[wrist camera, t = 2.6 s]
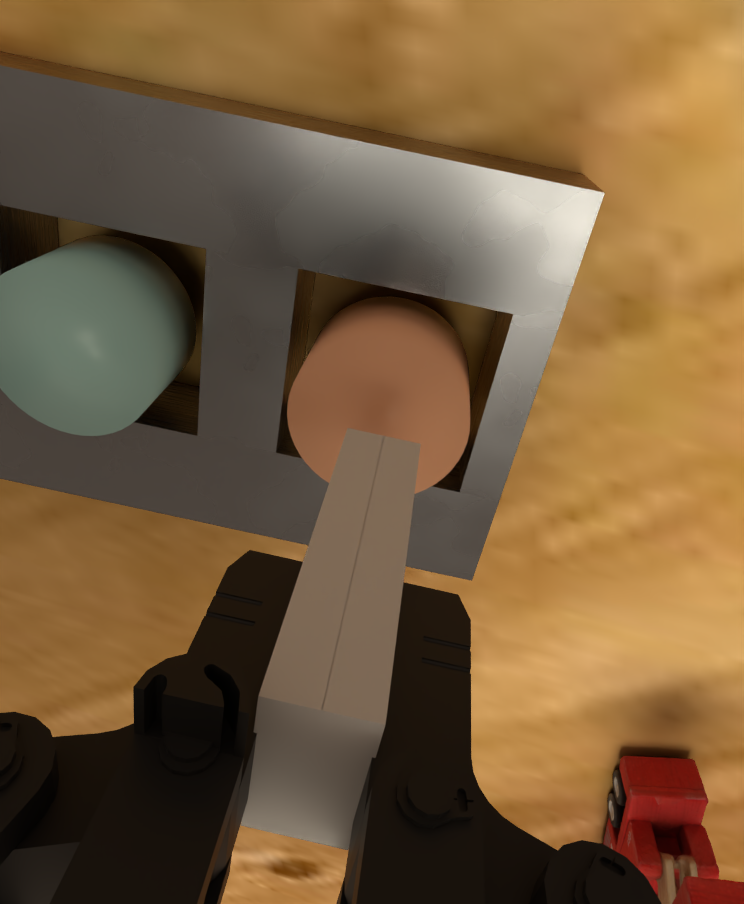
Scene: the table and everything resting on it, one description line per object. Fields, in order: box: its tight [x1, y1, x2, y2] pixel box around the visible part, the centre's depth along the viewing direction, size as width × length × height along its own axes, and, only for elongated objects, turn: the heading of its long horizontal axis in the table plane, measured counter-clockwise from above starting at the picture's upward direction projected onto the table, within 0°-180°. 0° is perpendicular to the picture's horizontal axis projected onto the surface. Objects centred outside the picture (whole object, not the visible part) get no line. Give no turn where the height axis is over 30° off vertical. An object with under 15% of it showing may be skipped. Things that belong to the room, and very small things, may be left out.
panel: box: [0, 52, 605, 580], centre depth 20 cm, size 24×12×3 cm, turn 80°
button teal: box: [0, 236, 196, 436], centre depth 18 cm, size 5×5×3 cm
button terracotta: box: [287, 297, 470, 494], centre depth 18 cm, size 5×5×3 cm
